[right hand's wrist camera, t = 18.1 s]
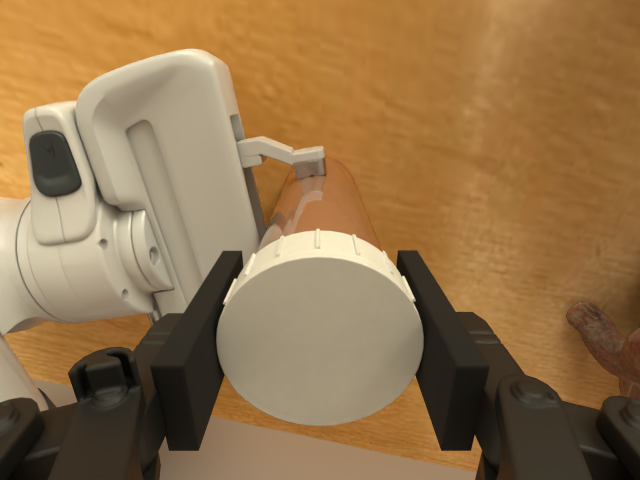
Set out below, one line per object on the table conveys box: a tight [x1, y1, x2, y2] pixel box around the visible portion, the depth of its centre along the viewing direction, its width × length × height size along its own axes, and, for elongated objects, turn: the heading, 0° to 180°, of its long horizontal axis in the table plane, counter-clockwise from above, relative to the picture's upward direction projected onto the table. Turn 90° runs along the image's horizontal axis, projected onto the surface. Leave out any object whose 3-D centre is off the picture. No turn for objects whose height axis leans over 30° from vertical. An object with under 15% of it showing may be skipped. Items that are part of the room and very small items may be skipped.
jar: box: [257, 157, 383, 253], centre depth 20 cm, size 6×6×18 cm
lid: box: [216, 229, 424, 426], centre depth 11 cm, size 6×6×2 cm
